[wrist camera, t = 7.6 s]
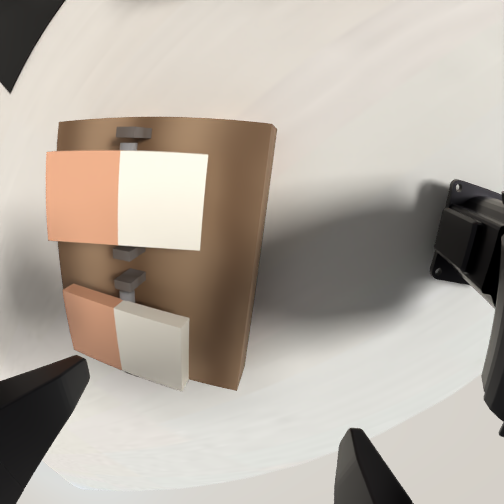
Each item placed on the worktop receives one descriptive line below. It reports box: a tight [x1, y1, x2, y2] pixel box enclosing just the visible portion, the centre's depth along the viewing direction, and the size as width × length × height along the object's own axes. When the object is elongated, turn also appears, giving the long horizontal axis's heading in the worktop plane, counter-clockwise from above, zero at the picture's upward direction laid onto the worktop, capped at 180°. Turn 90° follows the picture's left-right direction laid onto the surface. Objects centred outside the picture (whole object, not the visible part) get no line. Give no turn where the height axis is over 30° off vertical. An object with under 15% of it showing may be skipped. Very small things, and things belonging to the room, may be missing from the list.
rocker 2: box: [63, 283, 189, 391], centre depth 18 cm, size 9×6×2 cm, turn 83°
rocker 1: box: [46, 143, 208, 251], centre depth 15 cm, size 9×6×2 cm, turn 83°
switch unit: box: [57, 117, 277, 391], centre depth 19 cm, size 15×18×5 cm
